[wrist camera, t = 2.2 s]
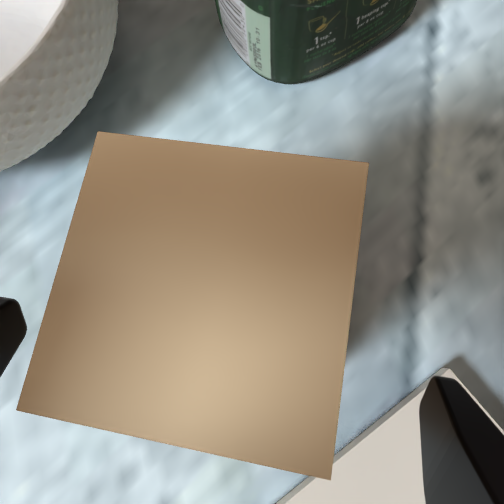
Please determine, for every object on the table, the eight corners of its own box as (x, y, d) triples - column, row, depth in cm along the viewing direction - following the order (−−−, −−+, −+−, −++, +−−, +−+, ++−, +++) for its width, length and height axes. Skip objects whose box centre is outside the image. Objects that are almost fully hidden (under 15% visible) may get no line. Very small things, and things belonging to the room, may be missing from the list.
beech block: (304, 394, 16) (330, 481, 6) (188, 372, 17) (15, 410, 6) (320, 277, 17) (369, 162, 7) (211, 259, 18) (97, 131, 7)
